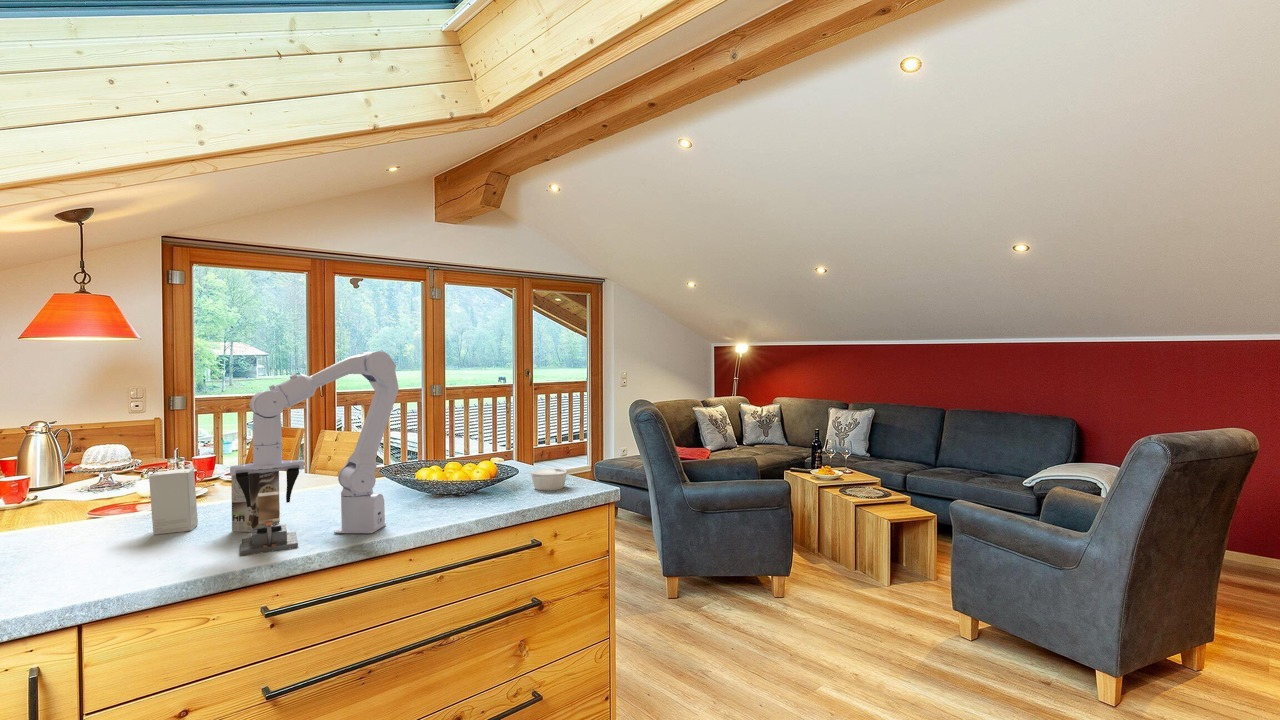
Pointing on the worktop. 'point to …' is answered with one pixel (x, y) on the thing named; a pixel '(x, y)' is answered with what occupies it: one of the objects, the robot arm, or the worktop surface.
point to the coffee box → (249, 516)
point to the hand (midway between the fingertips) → (268, 503)
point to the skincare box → (173, 501)
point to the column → (268, 507)
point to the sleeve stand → (268, 539)
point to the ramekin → (549, 479)
